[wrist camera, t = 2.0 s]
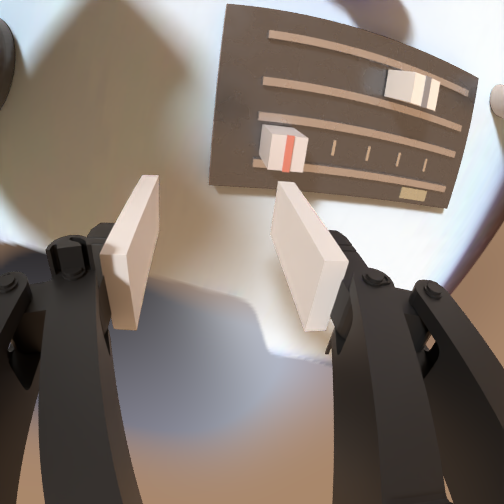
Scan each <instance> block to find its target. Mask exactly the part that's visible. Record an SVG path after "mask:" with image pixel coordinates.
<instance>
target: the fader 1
mask: <svg viewBox="0 0 504 504" xmlns="http://www.w3.org/2000/svg"><path fill="white" fill-rule="evenodd" d="M307 145H308V138H307V137H306V136H305V135H303V134H302V133H300V132H299V131H298V130H296V129H295V128H292V127H284V126H275V125H266V124H262V132H261V140H260V148H259V156H260V157H261V159H262V161H263V163H264V164H265V166H266V168H267V169H268V170H280V171H282V172H289V171H291V172H301V173H303V168H304V162H305V156H306V150H307Z"/></svg>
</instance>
